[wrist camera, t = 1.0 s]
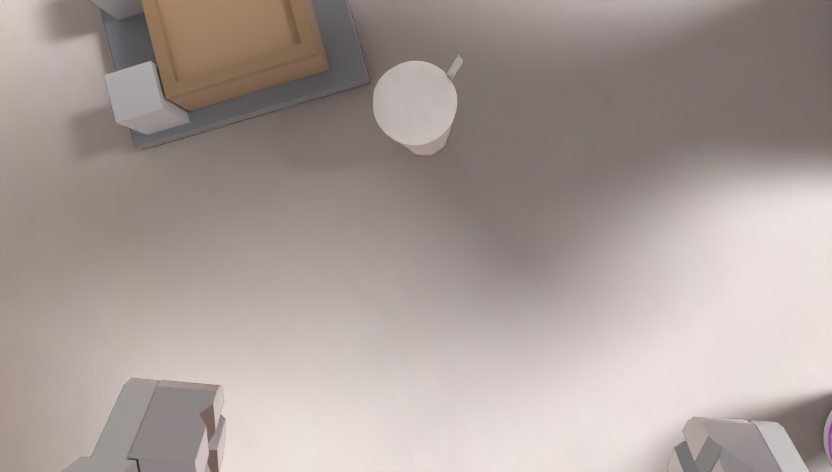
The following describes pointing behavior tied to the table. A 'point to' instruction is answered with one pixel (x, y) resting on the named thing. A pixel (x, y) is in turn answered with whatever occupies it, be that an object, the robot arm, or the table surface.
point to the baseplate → (259, 104)
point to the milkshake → (417, 105)
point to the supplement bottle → (828, 437)
